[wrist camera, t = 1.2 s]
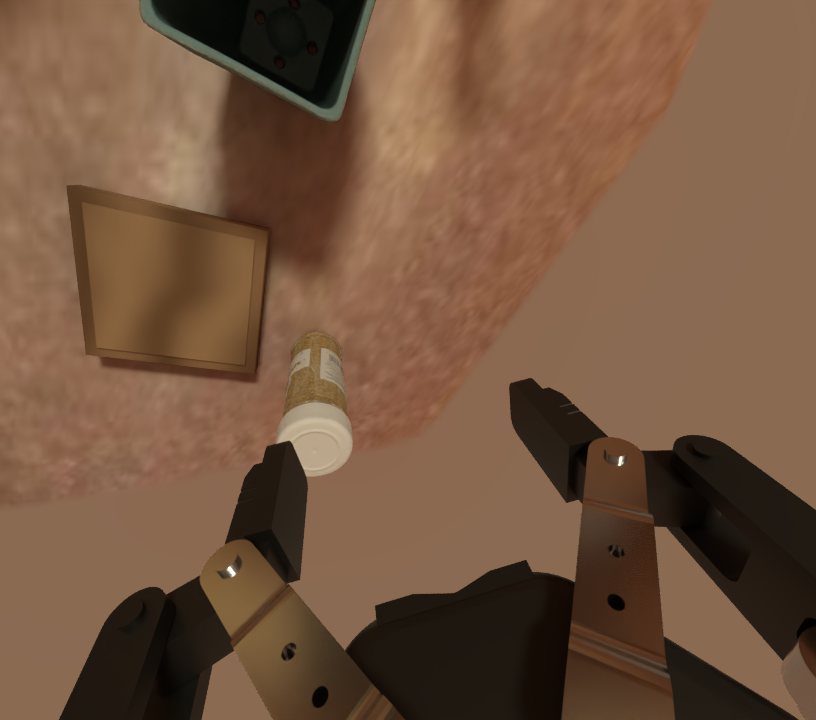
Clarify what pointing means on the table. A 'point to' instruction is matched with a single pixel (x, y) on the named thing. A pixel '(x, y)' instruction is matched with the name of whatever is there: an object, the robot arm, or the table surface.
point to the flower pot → (273, 43)
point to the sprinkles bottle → (317, 406)
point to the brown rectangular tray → (167, 282)
